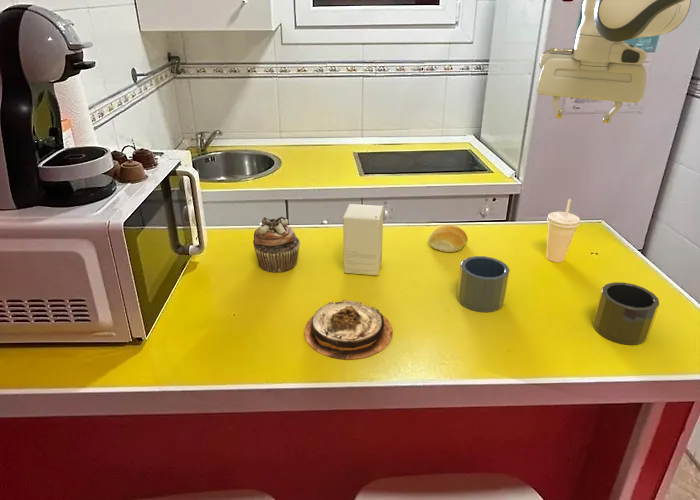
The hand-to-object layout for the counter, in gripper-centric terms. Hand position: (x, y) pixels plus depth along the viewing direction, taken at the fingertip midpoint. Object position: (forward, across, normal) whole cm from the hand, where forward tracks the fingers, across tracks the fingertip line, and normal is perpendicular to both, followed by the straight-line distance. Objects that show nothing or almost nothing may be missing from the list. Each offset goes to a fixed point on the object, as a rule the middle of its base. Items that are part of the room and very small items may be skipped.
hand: (581, 120), depth 109 cm
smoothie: (+28, 0, -11) cm, 30 cm away
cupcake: (+28, -54, -37) cm, 71 cm away
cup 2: (+27, +12, -34) cm, 46 cm away
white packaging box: (+28, -37, -31) cm, 55 cm away
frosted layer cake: (+28, -31, -53) cm, 67 cm away
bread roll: (+28, -23, -14) cm, 38 cm away
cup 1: (+27, -12, -34) cm, 45 cm away
